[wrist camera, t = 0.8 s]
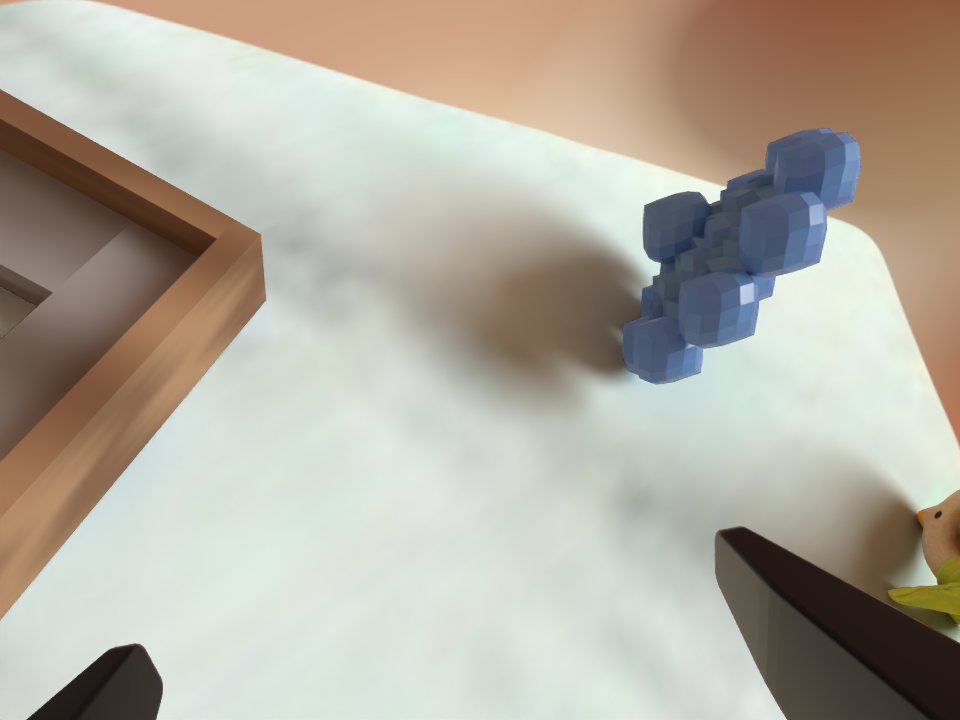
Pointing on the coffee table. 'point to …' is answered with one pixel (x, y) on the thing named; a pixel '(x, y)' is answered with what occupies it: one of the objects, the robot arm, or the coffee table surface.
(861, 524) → the coffee table surface
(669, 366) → the grapes
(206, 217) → the socket box
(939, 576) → the bird rattle
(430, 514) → the coffee table surface
